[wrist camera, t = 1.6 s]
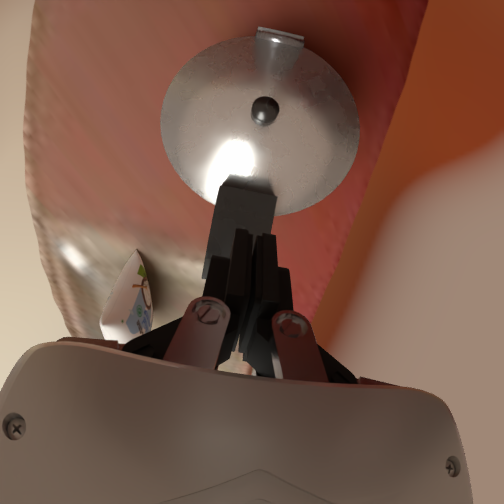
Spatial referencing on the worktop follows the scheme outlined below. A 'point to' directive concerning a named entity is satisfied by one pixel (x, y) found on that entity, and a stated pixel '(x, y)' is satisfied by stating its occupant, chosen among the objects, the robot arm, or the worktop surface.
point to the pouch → (128, 304)
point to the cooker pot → (281, 32)
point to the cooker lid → (258, 132)
